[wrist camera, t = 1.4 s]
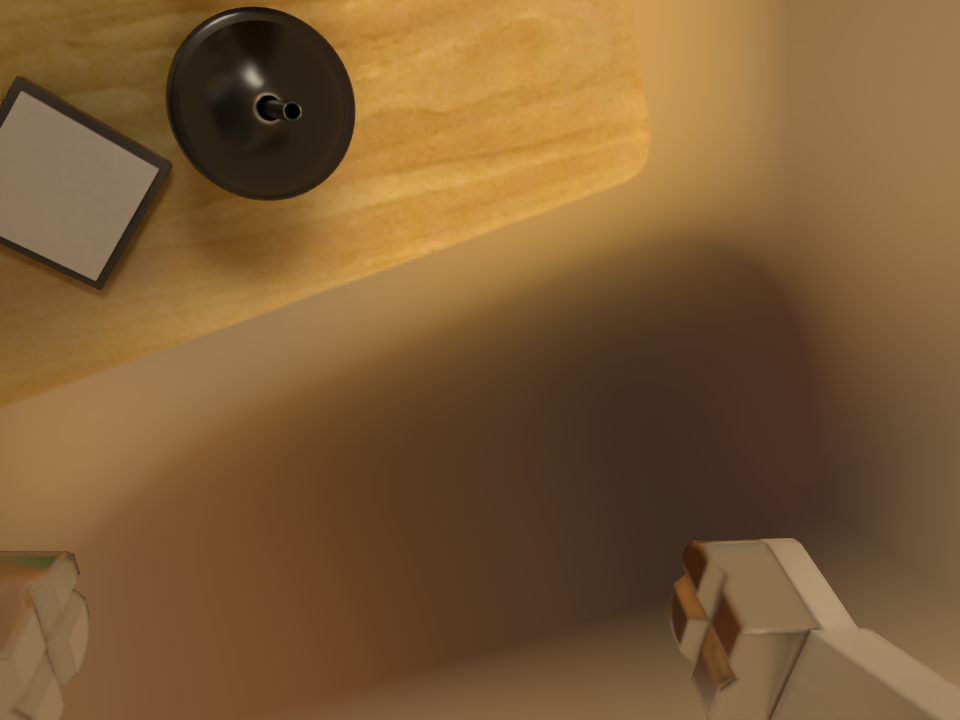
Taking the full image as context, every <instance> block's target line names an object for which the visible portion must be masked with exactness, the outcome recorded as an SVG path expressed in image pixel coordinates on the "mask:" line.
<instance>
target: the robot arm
mask: <svg viewBox="0 0 960 720" xmlns="http://www.w3.org/2000/svg"><path fill="white" fill-rule="evenodd" d="M681 562H682V564H683V566H684V569H685V571H686V573H687V574H686V575H685V576H684V577H682V578H681V579H680V580H679V581H678V582H676V583H675V584H674V587H673V591H672V595H671V599H670V623H671V627H672V632H673V636H674V639H675V641H676V644H677V646H678V649H679V652H680V653H682V654H683V655H684V656H685V657H686V658H688V659H689V660H690V661H691V662H693V663H694V664H695V665H696V666H695V669H694V672H693V675H692V678H691V681H692V684H693V686H694V689H695V691H696V693H697V696H698V698H699V700H700V703H701V705H702V708H703V710H704V712H705V715H706V717H707V720H960V688H958V687H957V686H955V685H954V684H952V683H951V682H949V681H948V680H946V679H945V678H943V677H942V676H940V675H939V674H937V673H935V672H934V671H932V670H931V669H930V668H928V667H926V666H925V665H923V664H922V663H920V662H919V661H917V660H916V659H914V658H913V657H911V656H910V655H908V654H907V653H905V652H903V651H902V650H901V649H899V648H898V647H896V646H895V645H893V644H892V643H890V642H888V641H887V640H885V639H884V638H882V637H881V636H879V635H878V634H876V633H875V632H873V631H872V630H870V629H869V628H857V626H856V625H855V623H854V622H853V620H852V619H851V617H850V616H849V614H848V613H847V611H846V610H845V608H844V607H843V605H842V604H841V602H840V601H839V599H838V598H837V596H836V595H835V594H834V592H833V590H832V589H831V588H830V586H829V585H828V583H827V582H826V580H825V579H824V577H823V576H822V574H821V573H820V572H819V570H818V568H817V567H816V565H815V564H814V562H813V561H812V559H811V558H810V557H809V555H808V554H807V552H806V551H805V549H804V548H803V546H802V545H801V544H800V543H799V542H797V541H796V540H795V539H793V538H788V539H759V540H717V541H691V542H690V543H689V545H688V546H687V547H686V548H685V551H684V554H683V557H682V560H681ZM78 576H79V569H78V566H77V562H76V559H75V555H74V554H73V553H70V552H67V551H0V720H60V717H61V715H62V712H63V710H64V707H65V706H64V702H63V698H62V695H61V692H60V689H61V688H62V687H63V686H64V685H65V684H67V683H68V682H69V681H70V680H71V679H72V678H74V677H75V676H76V675H77V674H78V672H79V669H80V666H81V664H82V661H83V658H84V656H85V652H86V647H87V641H88V635H89V610H88V606H87V601H86V598H85V597H83V596H82V595H81V594H80V593H78V592H77V591H75V590H74V589H73V587H74V585H75V582H76V580H77V578H78Z"/></svg>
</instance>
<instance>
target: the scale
mask: <svg viewBox="0 0 960 720" xmlns="http://www.w3.org/2000/svg"><path fill="white" fill-rule="evenodd" d="M171 167H172V164H171V162H170V161H168V160H166V159H165V158H163V157H161V156H159V155H158V154H156V153H154V152H153V151H151V150H149V149H147V148H146V147H144V146H142V145H140V144H139V143H137V142H135V141H133V140H132V139H130V138H128V137H127V136H125V135H123V134H121V133H120V132H118V131H116V130H114V129H113V128H111V127H109V126H107V125H106V124H104V123H102V122H101V121H99V120H97V119H95V118H94V117H92V116H90V115H88V114H87V113H85V112H83V111H82V110H80V109H78V108H76V107H75V106H73V105H71V104H69V103H68V102H66V101H64V100H62V99H61V98H59V97H57V96H56V95H54V94H52V93H50V92H49V91H47V90H45V89H43V88H42V87H40V86H38V85H36V84H35V83H33V82H31V81H30V80H28V79H26V78H24V77H20V76H17V77H16V78H15V80H14V82H13V84H12V86H11V87H10V89H9V91H8V93H7V95H6V97H5V98H4V100H3V102H2V104H1V106H0V244H2V245H4V246H6V247H8V248H11V249H13V250H15V251H17V252H19V253H21V254H23V255H26V256H28V257H30V258H32V259H34V260H36V261H38V262H41V263H43V264H45V265H47V266H49V267H51V268H53V269H55V270H58V271H60V272H62V273H64V274H66V275H68V276H70V277H73V278H75V279H77V280H79V281H81V282H83V283H85V284H88V285H90V286H92V287H94V288H96V289H98V290H102V288H103V287H104V285H105V283H106V281H107V280H108V278H109V276H110V274H111V273H112V271H113V269H114V267H115V266H116V264H117V262H118V260H119V259H120V257H121V255H122V253H123V252H124V250H125V248H126V246H127V245H128V243H129V241H130V239H131V237H132V236H133V234H134V232H135V230H136V229H137V227H138V225H139V223H140V222H141V220H142V218H143V216H144V215H145V213H146V211H147V209H148V208H149V206H150V204H151V202H152V201H153V199H154V197H155V195H156V193H157V192H158V190H159V188H160V186H161V185H162V183H163V181H164V179H165V178H166V176H167V174H168V172H169V171H170V169H171Z"/></svg>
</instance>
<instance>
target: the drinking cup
mask: <svg viewBox="0 0 960 720" xmlns="http://www.w3.org/2000/svg"><path fill="white" fill-rule="evenodd" d="M166 109H167V115H168V120H169V123H170V127H171V130H172V132H173V135H174V137H175V139H176V141H177V143H178V145H179V147H180V149H181V150H182V152H183V153H184V155H185V156H186V158H187V159H188V160H189V162H190V163H191V164H192V165H193V166H194V167H195V168H196V169H197V170H198V171H199V172H200V173H201V174H202V175H203V176H204V177H205V178H207V179H208V180H209V181H211V182H212V183H213V184H215V185H217V186H218V187H220V188H222V189H224V190H226V191H228V192H230V193H232V194H235V195H237V196H241V197H244V198H248V199H253V200H261V201H276V200H284V199H289V198H293V197H296V196H299V195H302V194H304V193H306V192H308V191H310V190H312V189H314V188H316V187H317V186H318V185H320V184H321V183H323V182H324V181H325V180H326V179H327V178H328V177H329V176H330V175H331V174H332V173H333V172H334V171H335V170H336V168H337V167H338V166H339V164H340V163H341V161H342V160H343V158H344V156H345V154H346V152H347V150H348V148H349V145H350V142H351V139H352V136H353V131H354V125H355V99H354V93H353V88H352V85H351V81H350V78H349V76H348V73H347V71H346V68H345V66H344V64H343V62H342V61H341V59H340V57H339V56H338V54H337V53H336V51H335V50H334V49H333V47H332V46H331V45H330V44H329V43H328V41H327V40H326V39H325V38H324V37H323V36H322V35H321V34H320V33H319V32H317V31H316V30H315V29H314V28H312V27H311V26H310V25H308V24H307V23H305V22H304V21H302V20H300V19H298V18H296V17H294V16H292V15H290V14H287V13H285V12H282V11H278V10H275V9H270V8H264V7H242V8H235V9H231V10H227V11H224V12H221V13H219V14H216V15H214V16H212V17H210V18H208V19H207V20H205V21H204V22H202V23H201V24H199V25H198V26H197V27H196V28H195V29H193V30H192V32H191V33H190V34H189V35H188V36H187V37H186V38H185V39H184V41H183V42H182V43H181V45H180V46H179V48H178V50H177V51H176V53H175V56H174V58H173V60H172V62H171V65H170V68H169V72H168V76H167V82H166Z"/></svg>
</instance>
